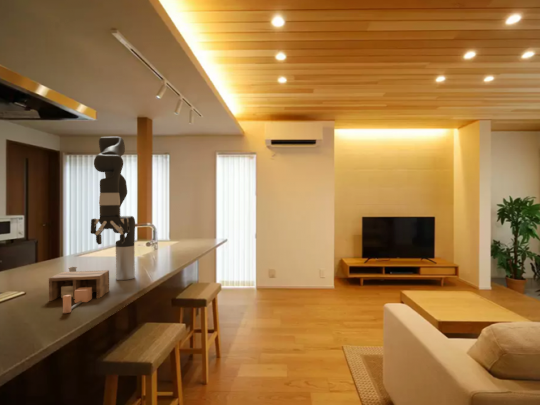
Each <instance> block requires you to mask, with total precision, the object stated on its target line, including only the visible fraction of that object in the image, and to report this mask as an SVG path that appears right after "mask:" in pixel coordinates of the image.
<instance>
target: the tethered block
mask: <svg viewBox="0 0 540 405" xmlns="http://www.w3.org/2000/svg"><path fill="white" fill-rule="evenodd" d="M74 297H75V300H74V303H75V304H73V305H72V297H71V295H65V296H63V298H62V313H63V314H69V313H71V312H72V310H73V309H75V308H76V307H78V306H79V305H80V304H82V303H88V302H89V301H91V300H92V299H93V292H92V287H84V288H78V289H77V290H75V291H74Z"/></svg>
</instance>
